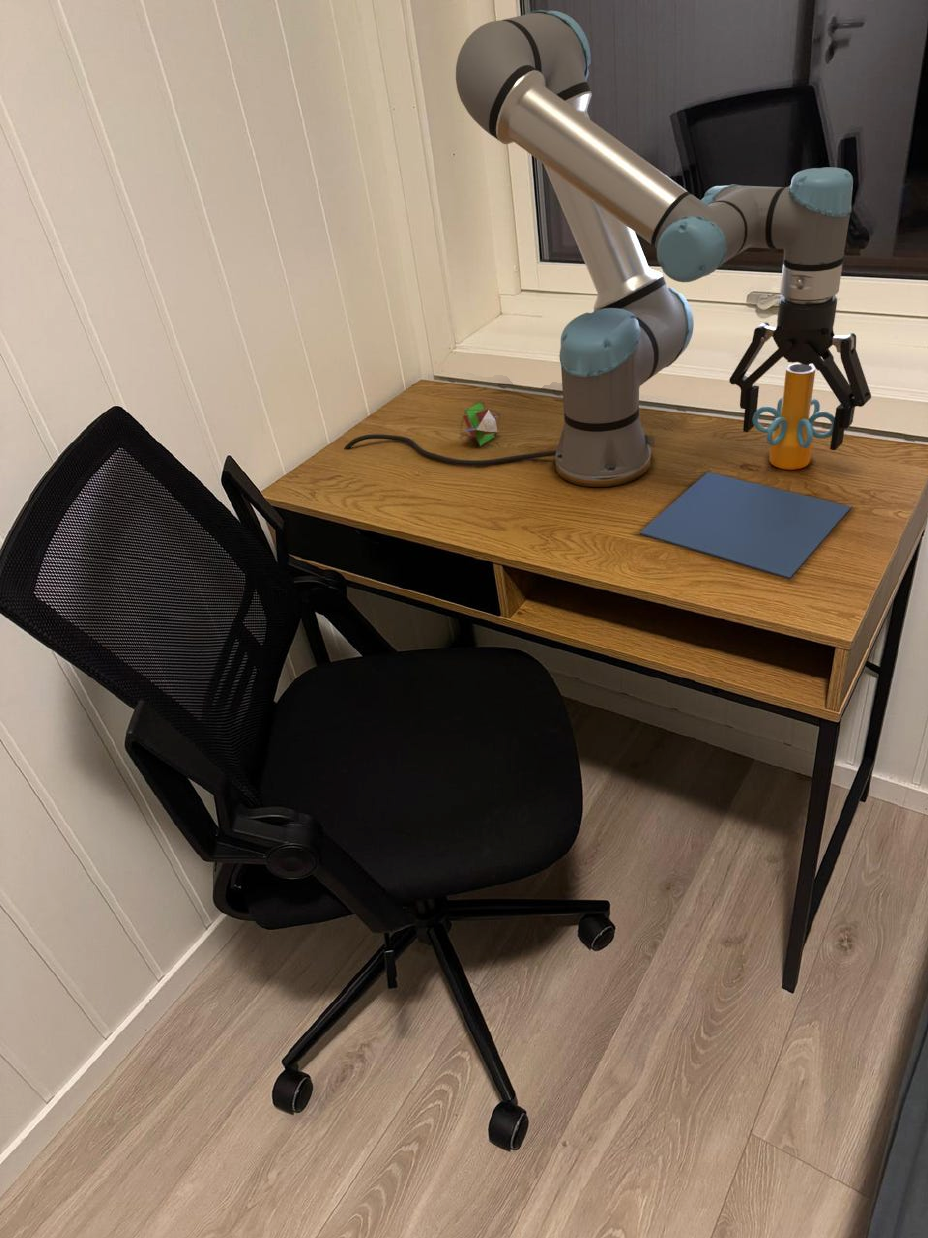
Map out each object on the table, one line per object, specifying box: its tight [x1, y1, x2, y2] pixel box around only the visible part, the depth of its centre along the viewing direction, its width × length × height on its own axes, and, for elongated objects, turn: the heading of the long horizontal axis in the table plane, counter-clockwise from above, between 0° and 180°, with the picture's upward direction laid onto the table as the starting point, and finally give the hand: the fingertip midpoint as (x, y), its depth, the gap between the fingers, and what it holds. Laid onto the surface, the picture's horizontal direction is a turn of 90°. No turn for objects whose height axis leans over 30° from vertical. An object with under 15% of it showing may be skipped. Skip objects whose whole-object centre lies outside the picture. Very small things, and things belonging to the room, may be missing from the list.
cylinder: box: [753, 362, 835, 470], centre depth 128 cm, size 12×10×15 cm
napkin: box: [639, 471, 852, 580], centre depth 121 cm, size 22×20×1 cm
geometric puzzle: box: [459, 400, 501, 447], centre depth 150 cm, size 7×7×8 cm
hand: (791, 437), depth 130 cm, fingers open, 13 cm apart
